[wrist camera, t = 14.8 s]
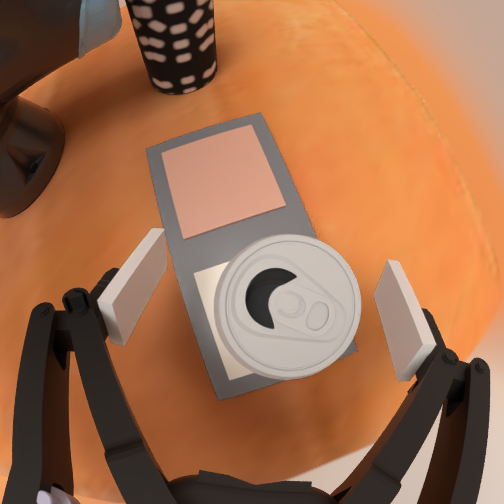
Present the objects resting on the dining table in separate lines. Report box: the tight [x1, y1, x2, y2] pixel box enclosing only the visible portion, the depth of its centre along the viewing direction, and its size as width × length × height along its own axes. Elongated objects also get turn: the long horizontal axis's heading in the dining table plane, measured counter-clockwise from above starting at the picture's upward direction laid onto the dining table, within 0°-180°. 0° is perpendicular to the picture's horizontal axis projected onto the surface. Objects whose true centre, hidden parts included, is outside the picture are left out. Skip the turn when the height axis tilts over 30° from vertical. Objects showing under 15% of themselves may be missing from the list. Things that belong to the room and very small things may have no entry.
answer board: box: [146, 112, 358, 401], centre depth 25 cm, size 24×12×2 cm, turn 19°
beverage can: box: [214, 234, 361, 380], centre depth 17 cm, size 6×6×12 cm
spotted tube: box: [125, 0, 217, 94], centre depth 21 cm, size 8×8×20 cm
